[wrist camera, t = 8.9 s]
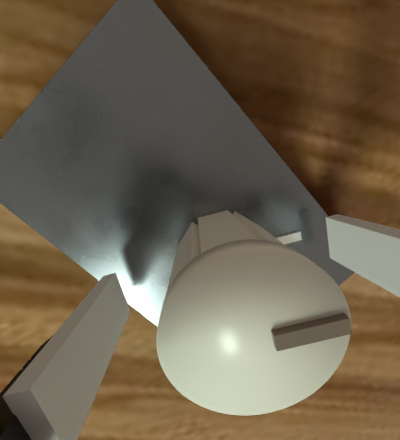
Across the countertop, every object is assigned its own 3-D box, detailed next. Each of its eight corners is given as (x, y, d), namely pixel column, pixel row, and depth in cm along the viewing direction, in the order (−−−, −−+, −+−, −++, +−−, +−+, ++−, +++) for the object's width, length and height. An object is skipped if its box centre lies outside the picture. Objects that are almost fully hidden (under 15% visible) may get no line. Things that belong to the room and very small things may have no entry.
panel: (-7, 177, 13) (-147, 178, 7) (141, 4, 11) (101, -151, 6) (222, 362, 17) (238, 447, 12) (349, 254, 16) (434, 294, 10)
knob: (189, 307, 14) (185, 440, 7) (163, 223, 13) (126, 284, 6) (276, 285, 14) (362, 400, 7) (261, 198, 12) (349, 229, 5)
